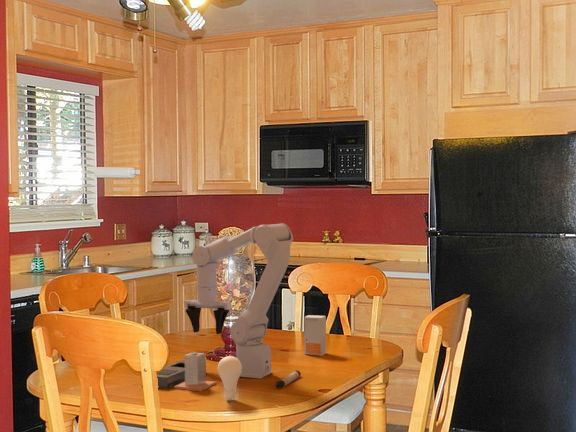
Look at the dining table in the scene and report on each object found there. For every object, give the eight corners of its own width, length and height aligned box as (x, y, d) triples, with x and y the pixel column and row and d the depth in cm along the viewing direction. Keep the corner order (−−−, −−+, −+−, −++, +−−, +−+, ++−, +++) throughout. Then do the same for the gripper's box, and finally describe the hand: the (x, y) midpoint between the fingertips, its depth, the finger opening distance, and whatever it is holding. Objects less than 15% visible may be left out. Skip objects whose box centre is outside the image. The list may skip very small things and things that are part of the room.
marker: (294, 377, 219) (294, 370, 219) (300, 377, 218) (300, 370, 218) (272, 390, 205) (272, 383, 205) (279, 391, 204) (279, 383, 204)
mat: (215, 384, 211) (215, 381, 211) (200, 391, 204) (200, 388, 204) (190, 381, 215) (190, 379, 215) (174, 388, 208) (174, 386, 207)
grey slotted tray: (205, 372, 225) (205, 361, 225) (167, 388, 207) (167, 377, 207) (182, 370, 229) (181, 359, 229) (142, 386, 210) (141, 374, 210)
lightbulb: (218, 397, 198) (217, 354, 197) (242, 396, 198) (241, 353, 198) (217, 404, 192) (217, 359, 191) (243, 403, 192) (242, 358, 192)
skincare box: (304, 354, 247) (303, 316, 247) (308, 352, 251) (308, 314, 251) (322, 356, 245) (321, 317, 245) (326, 353, 249) (326, 315, 249)
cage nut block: (205, 383, 210) (205, 352, 210) (197, 386, 207) (197, 355, 206) (193, 381, 212) (192, 351, 212) (185, 385, 209) (184, 354, 208)
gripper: (178, 287, 229) (179, 333, 230) (222, 289, 223) (222, 336, 224) (191, 284, 236) (191, 329, 236) (233, 286, 230) (234, 332, 230)
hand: (207, 332), depth 231 cm, fingers open, 7 cm apart
